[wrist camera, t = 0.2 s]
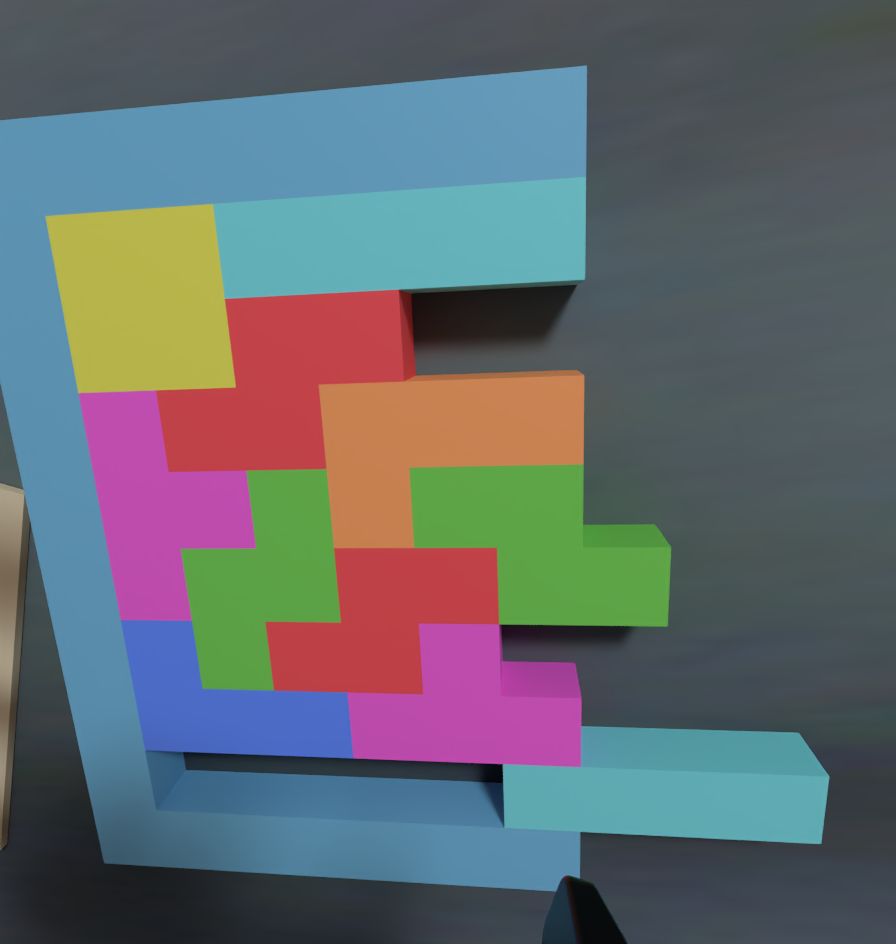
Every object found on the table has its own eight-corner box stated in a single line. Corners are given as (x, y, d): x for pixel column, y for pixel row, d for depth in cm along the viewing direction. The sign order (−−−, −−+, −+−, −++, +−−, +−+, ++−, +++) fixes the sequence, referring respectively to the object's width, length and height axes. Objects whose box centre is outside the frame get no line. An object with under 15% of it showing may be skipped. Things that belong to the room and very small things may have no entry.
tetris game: (143, 811, 28) (780, 843, 25) (104, 863, 25) (813, 907, 22) (17, 151, 21) (859, 77, 18) (-56, 125, 19) (919, 34, 15)
